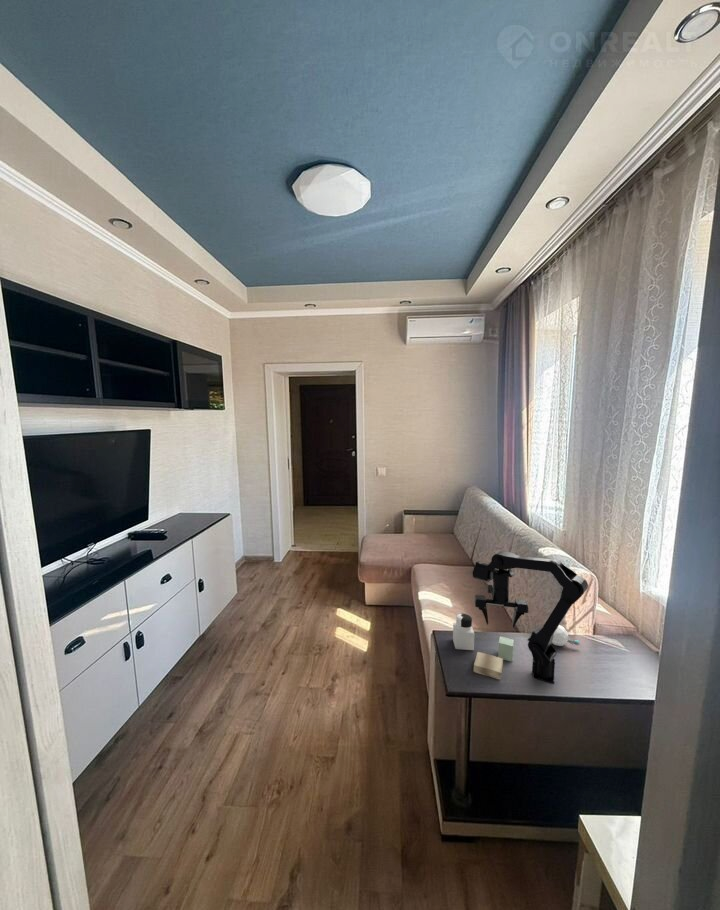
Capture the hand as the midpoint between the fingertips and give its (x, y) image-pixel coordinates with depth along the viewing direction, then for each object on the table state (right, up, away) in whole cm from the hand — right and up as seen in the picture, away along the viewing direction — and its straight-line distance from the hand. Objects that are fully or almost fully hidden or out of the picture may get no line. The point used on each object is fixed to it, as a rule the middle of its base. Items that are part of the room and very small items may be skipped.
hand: (500, 625), depth 140 cm
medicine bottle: (-12, -12, +8) cm, 18 cm away
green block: (+2, -12, +1) cm, 12 cm away
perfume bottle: (+29, -13, +9) cm, 33 cm away
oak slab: (-7, -13, -7) cm, 16 cm away
